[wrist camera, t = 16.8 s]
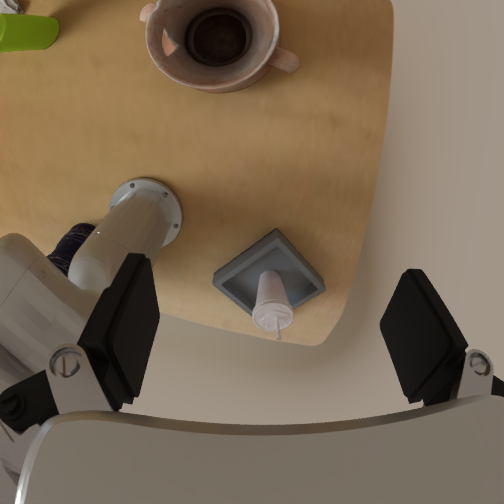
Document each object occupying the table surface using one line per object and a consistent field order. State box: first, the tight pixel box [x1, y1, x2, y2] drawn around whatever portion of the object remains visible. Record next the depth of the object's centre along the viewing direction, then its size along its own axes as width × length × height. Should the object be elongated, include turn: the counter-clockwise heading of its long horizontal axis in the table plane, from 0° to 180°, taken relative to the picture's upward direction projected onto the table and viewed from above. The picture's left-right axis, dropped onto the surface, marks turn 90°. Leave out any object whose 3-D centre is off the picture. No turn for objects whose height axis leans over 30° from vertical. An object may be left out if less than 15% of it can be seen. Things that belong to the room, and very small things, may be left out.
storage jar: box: [47, 223, 96, 278], centre depth 42 cm, size 10×10×15 cm
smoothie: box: [252, 270, 294, 340], centre depth 46 cm, size 6×6×14 cm
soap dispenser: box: [0, 13, 59, 53], centre depth 18 cm, size 6×7×20 cm
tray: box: [212, 228, 326, 316], centre depth 51 cm, size 14×14×3 cm
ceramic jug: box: [140, 0, 300, 93], centre depth 25 cm, size 18×14×14 cm
